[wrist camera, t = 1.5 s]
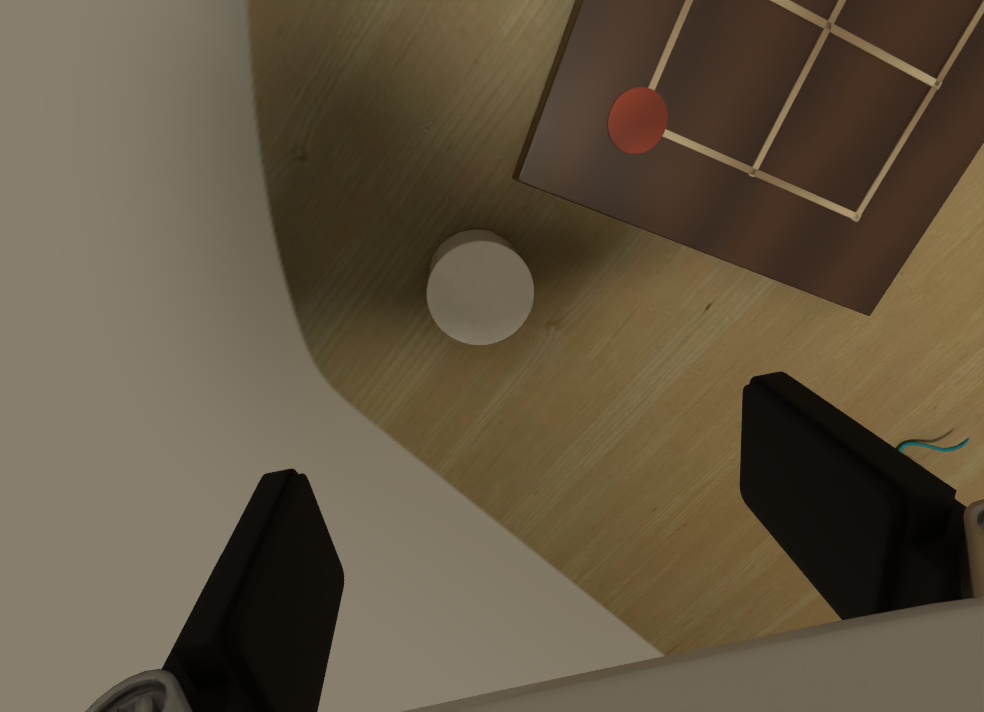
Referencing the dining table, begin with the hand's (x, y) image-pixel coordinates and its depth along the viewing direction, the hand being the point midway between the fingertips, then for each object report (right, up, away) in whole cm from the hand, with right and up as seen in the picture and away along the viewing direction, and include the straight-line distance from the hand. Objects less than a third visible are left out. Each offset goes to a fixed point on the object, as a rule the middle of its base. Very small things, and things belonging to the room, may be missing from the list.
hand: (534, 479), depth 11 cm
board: (+13, +17, +12) cm, 24 cm away
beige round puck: (-2, +6, +15) cm, 16 cm away
